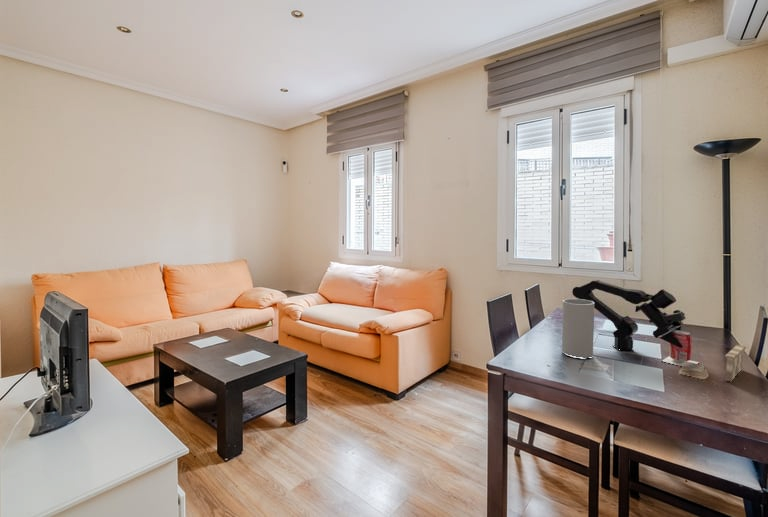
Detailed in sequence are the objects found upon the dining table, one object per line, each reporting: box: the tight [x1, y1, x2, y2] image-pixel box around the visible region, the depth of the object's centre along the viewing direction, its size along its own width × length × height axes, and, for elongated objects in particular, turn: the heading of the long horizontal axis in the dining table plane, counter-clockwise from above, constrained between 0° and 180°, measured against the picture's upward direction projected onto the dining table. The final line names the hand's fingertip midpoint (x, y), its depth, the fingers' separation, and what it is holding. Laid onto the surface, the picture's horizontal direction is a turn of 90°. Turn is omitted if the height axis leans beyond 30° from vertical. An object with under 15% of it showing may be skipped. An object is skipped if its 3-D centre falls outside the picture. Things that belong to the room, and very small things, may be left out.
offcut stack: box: [678, 361, 709, 379], centre depth 137 cm, size 8×5×4 cm, turn 40°
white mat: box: [661, 355, 700, 367], centre depth 150 cm, size 10×10×1 cm
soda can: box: [668, 330, 693, 362], centre depth 149 cm, size 7×7×12 cm
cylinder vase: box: [561, 298, 595, 358], centre depth 160 cm, size 12×12×25 cm
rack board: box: [725, 344, 747, 382], centre depth 136 cm, size 18×2×10 cm, turn 125°
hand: (684, 345), depth 148 cm, fingers closed on soda can, 7 cm apart
